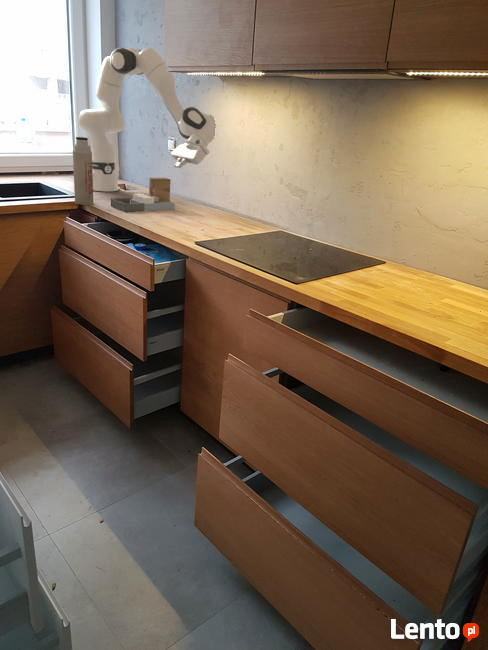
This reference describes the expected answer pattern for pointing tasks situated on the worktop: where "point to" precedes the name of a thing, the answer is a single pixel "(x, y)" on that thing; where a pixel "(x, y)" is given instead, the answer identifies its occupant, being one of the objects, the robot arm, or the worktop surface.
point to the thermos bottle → (83, 172)
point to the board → (157, 205)
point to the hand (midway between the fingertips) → (177, 167)
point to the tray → (126, 205)
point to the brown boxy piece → (159, 189)
